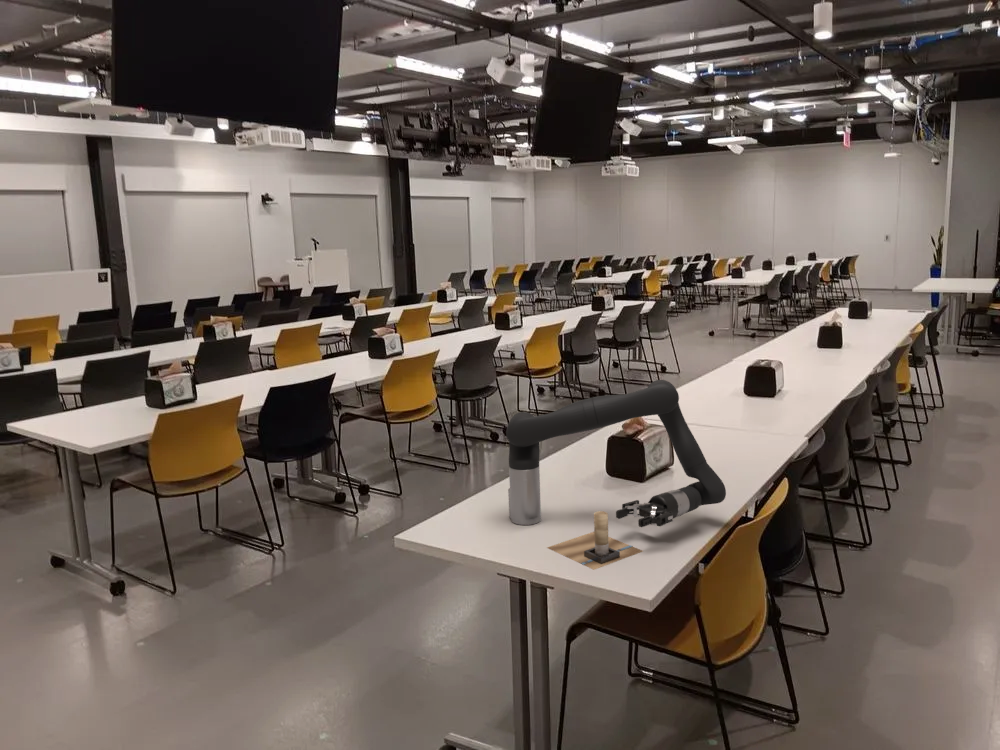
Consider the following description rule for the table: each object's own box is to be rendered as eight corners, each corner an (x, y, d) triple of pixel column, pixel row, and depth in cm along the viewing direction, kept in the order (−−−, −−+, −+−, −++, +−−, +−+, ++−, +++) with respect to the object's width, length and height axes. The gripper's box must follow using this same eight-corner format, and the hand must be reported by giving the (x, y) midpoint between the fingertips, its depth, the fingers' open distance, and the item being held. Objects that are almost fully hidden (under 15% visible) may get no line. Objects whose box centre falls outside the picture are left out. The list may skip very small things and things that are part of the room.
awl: (592, 556, 208) (591, 513, 206) (602, 552, 211) (601, 510, 208) (601, 560, 206) (600, 517, 203) (611, 556, 208) (610, 513, 205)
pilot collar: (584, 556, 209) (584, 551, 208) (602, 549, 213) (602, 544, 212) (601, 564, 203) (601, 558, 203) (619, 557, 207) (619, 552, 207)
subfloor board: (546, 552, 216) (546, 547, 216) (595, 536, 226) (595, 530, 226) (594, 575, 201) (593, 569, 200) (643, 556, 211) (643, 550, 211)
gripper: (650, 486, 226) (609, 499, 217) (688, 498, 215) (647, 512, 206) (650, 511, 228) (609, 525, 218) (688, 524, 216) (647, 540, 207)
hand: (628, 519), depth 212 cm, fingers open, 8 cm apart
